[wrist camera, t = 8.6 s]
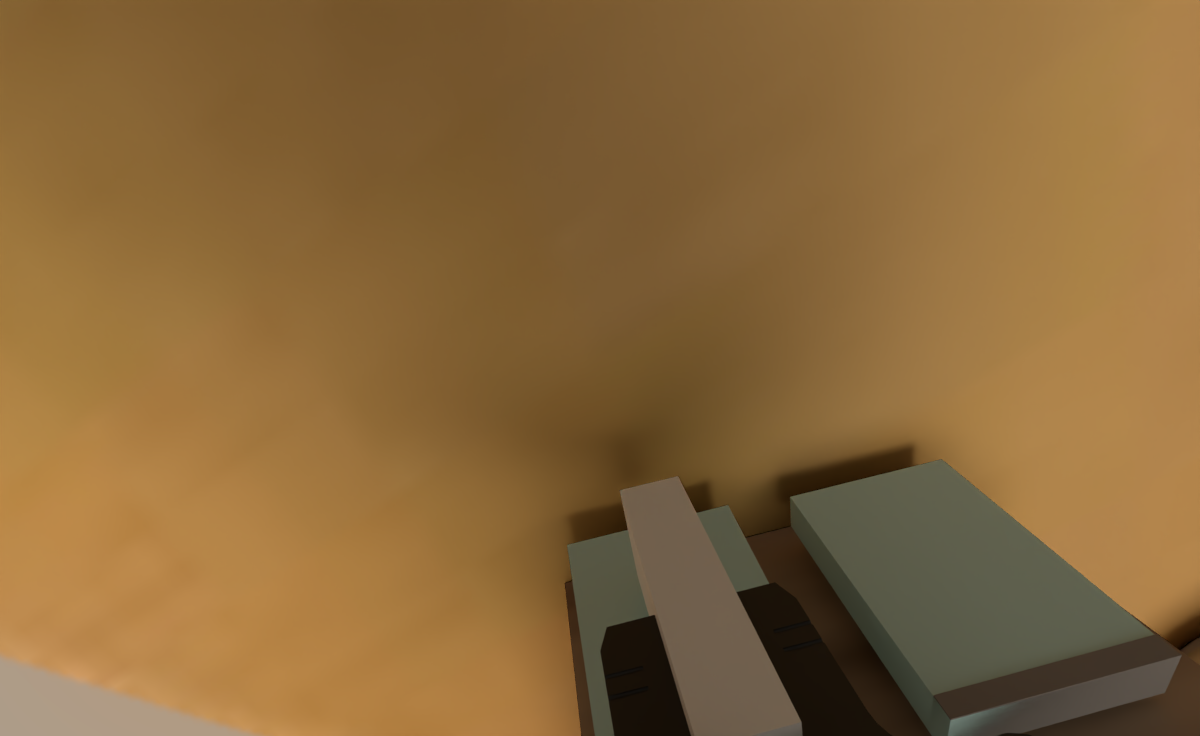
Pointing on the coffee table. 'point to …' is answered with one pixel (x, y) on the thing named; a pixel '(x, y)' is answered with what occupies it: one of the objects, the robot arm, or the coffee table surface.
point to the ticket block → (1127, 732)
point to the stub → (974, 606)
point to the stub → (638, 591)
